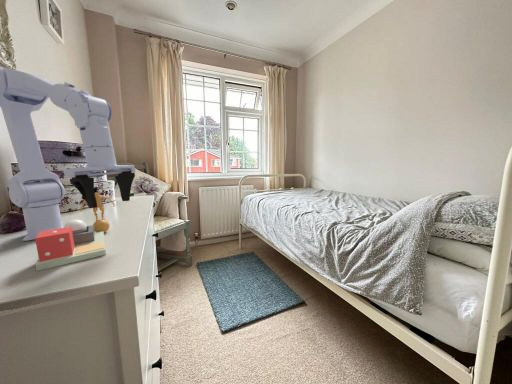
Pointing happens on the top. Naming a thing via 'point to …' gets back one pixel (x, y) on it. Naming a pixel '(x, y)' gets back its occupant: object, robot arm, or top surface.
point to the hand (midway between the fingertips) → (110, 204)
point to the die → (55, 243)
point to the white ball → (76, 226)
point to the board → (78, 253)
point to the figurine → (101, 224)
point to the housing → (85, 236)
